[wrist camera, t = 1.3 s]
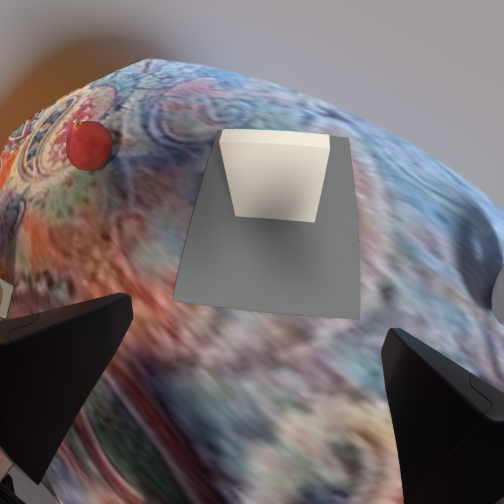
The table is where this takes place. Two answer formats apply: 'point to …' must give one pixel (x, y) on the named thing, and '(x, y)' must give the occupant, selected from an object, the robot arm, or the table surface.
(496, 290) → the donut
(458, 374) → the robot arm
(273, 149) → the tile
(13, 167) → the table surface
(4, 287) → the skincare box
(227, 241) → the mat
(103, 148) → the onion
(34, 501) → the lumpy-topped squat cylinder
